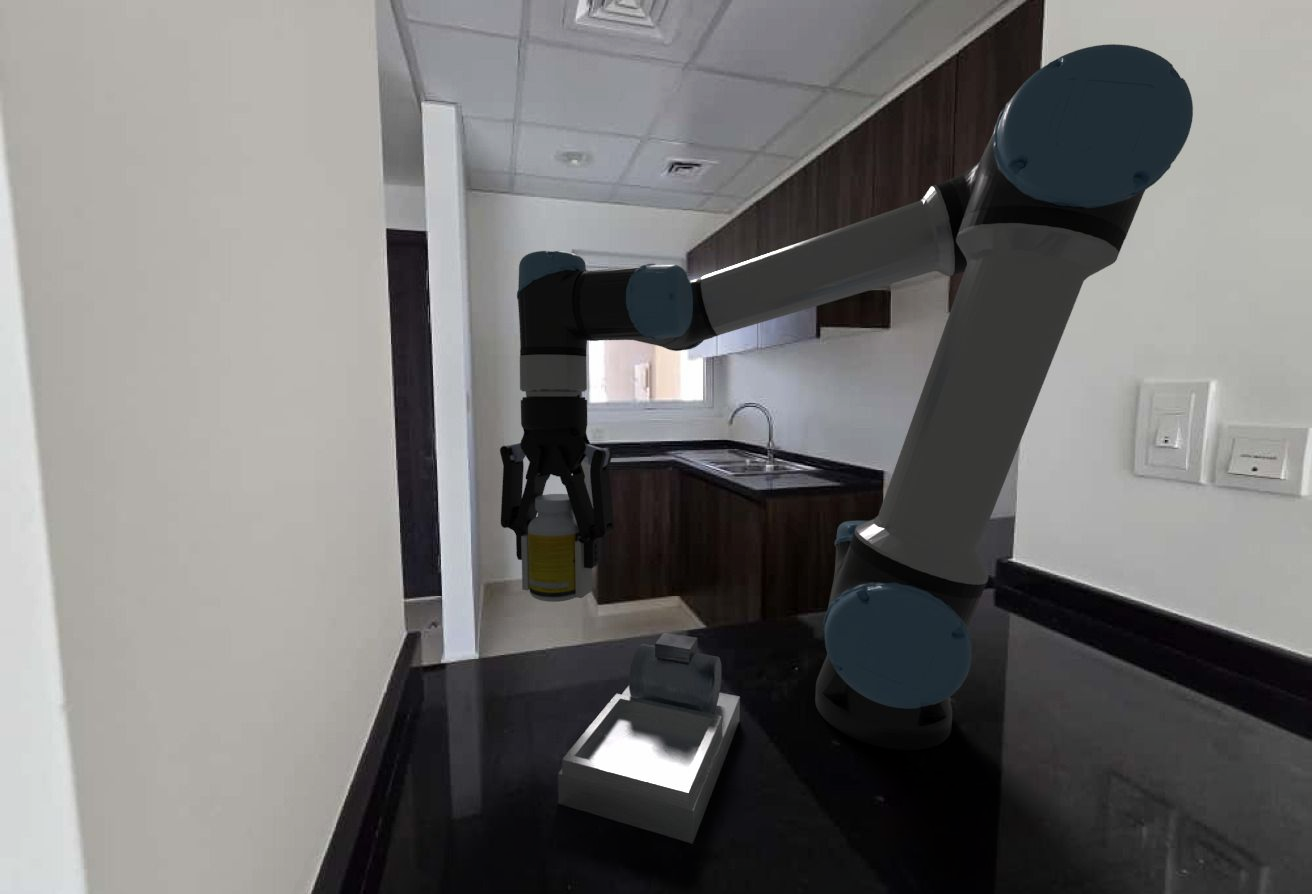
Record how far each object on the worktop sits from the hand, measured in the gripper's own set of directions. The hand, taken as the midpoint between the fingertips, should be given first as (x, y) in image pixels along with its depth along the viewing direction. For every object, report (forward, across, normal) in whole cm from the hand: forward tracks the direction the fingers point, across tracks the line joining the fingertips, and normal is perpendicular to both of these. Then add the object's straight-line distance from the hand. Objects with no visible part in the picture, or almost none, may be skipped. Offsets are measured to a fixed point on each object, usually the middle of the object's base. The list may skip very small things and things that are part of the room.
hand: (557, 589), depth 66 cm
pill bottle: (+1, 0, 0) cm, 1 cm away
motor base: (+15, -14, +4) cm, 21 cm away
